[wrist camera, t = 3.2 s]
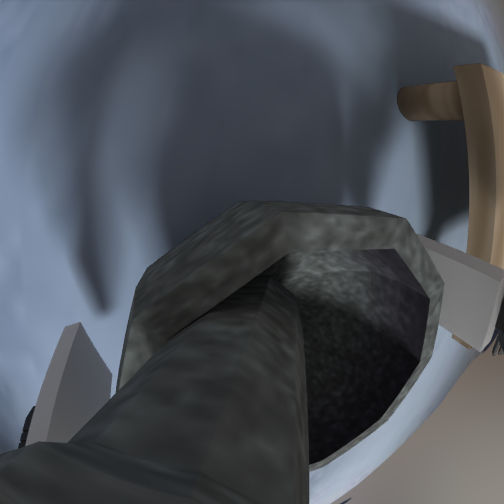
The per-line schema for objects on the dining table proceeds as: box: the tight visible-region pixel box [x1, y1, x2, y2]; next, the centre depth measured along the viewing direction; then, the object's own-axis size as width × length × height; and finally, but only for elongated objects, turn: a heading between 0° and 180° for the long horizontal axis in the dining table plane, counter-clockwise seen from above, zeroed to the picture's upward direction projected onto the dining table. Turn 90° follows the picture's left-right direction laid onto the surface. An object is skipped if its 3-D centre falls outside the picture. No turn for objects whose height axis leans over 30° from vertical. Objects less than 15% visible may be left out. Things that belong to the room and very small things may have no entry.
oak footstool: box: [397, 63, 504, 350], centre depth 13 cm, size 14×14×6 cm
